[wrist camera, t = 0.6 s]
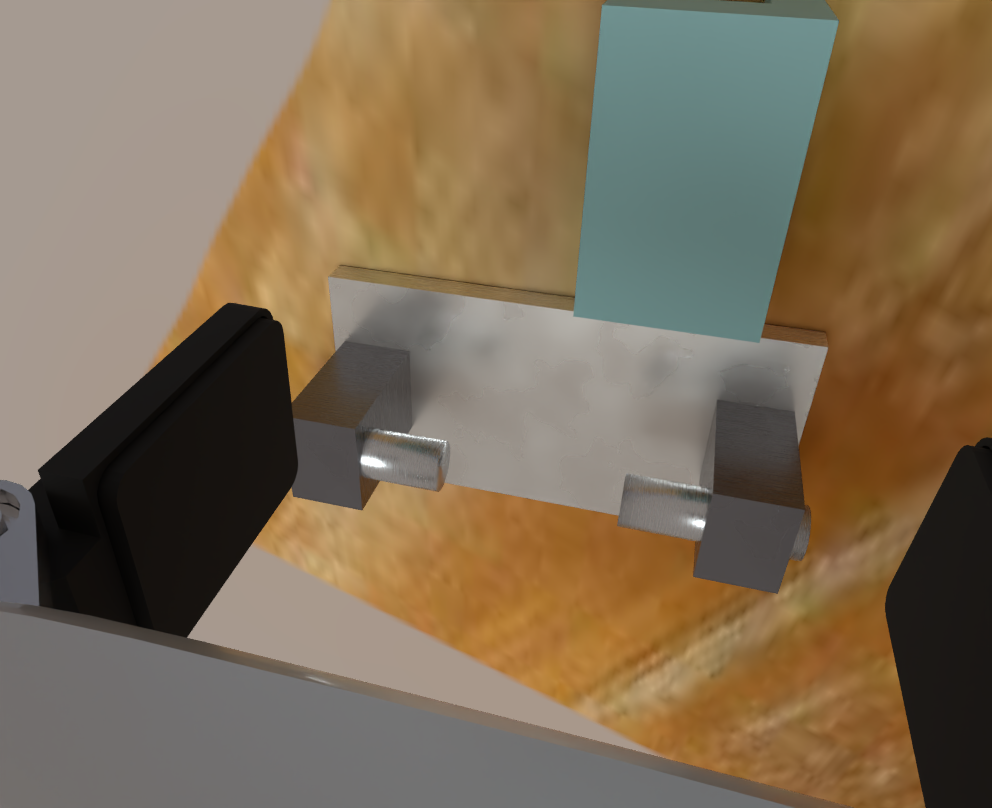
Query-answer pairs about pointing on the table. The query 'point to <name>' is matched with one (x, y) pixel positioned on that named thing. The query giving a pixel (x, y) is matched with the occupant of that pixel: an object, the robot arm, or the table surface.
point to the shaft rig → (564, 415)
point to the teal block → (697, 159)
